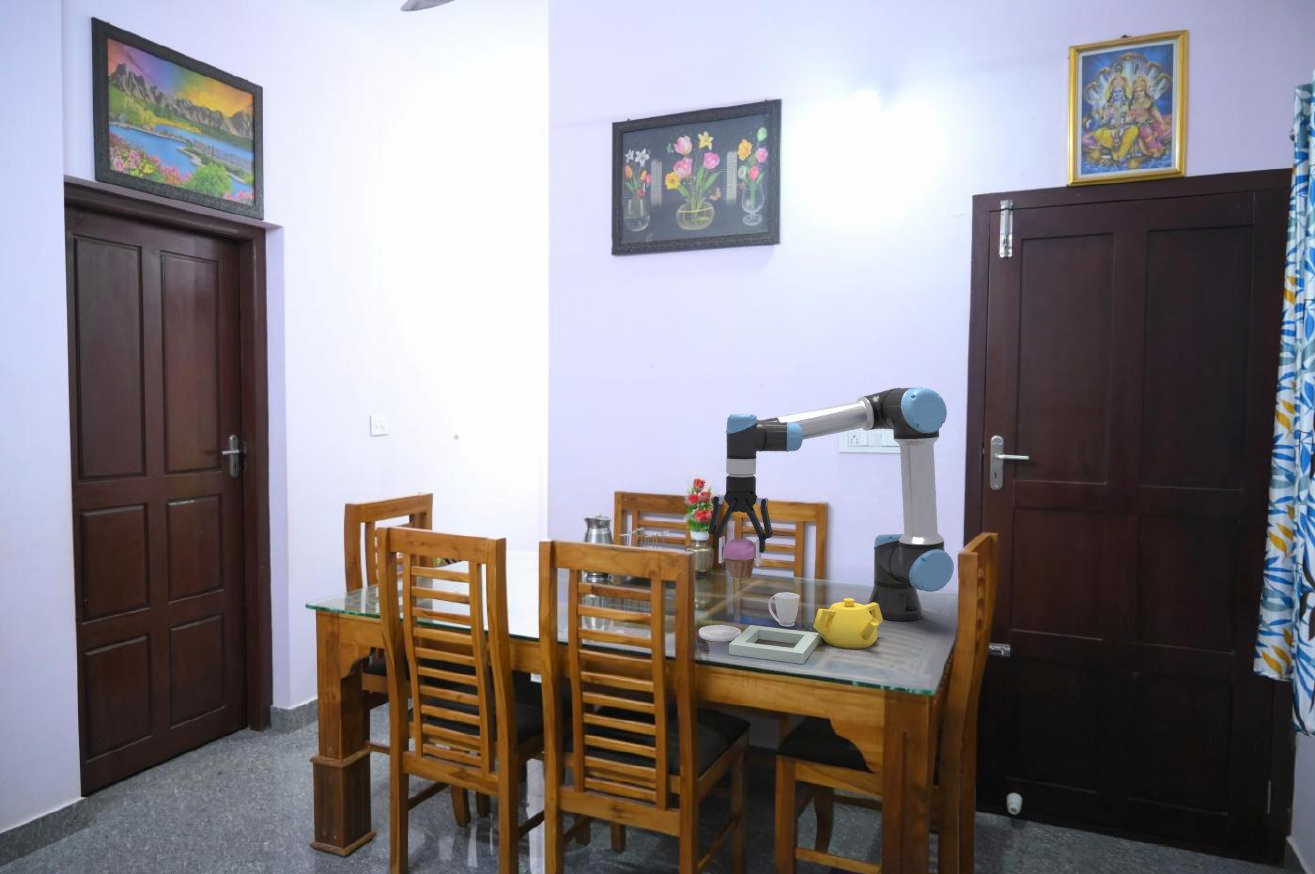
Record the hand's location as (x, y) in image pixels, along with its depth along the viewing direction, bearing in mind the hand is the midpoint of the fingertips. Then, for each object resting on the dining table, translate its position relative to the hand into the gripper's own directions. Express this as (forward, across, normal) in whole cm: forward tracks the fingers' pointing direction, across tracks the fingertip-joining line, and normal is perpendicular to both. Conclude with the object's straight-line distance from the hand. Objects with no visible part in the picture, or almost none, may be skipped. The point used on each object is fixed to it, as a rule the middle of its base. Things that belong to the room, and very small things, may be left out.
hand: (739, 563), depth 208 cm
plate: (+20, +6, -2) cm, 21 cm away
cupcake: (+4, 0, 0) cm, 4 cm away
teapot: (+20, -27, -8) cm, 35 cm away
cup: (+20, -7, -20) cm, 29 cm away
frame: (+20, -10, +3) cm, 22 cm away
